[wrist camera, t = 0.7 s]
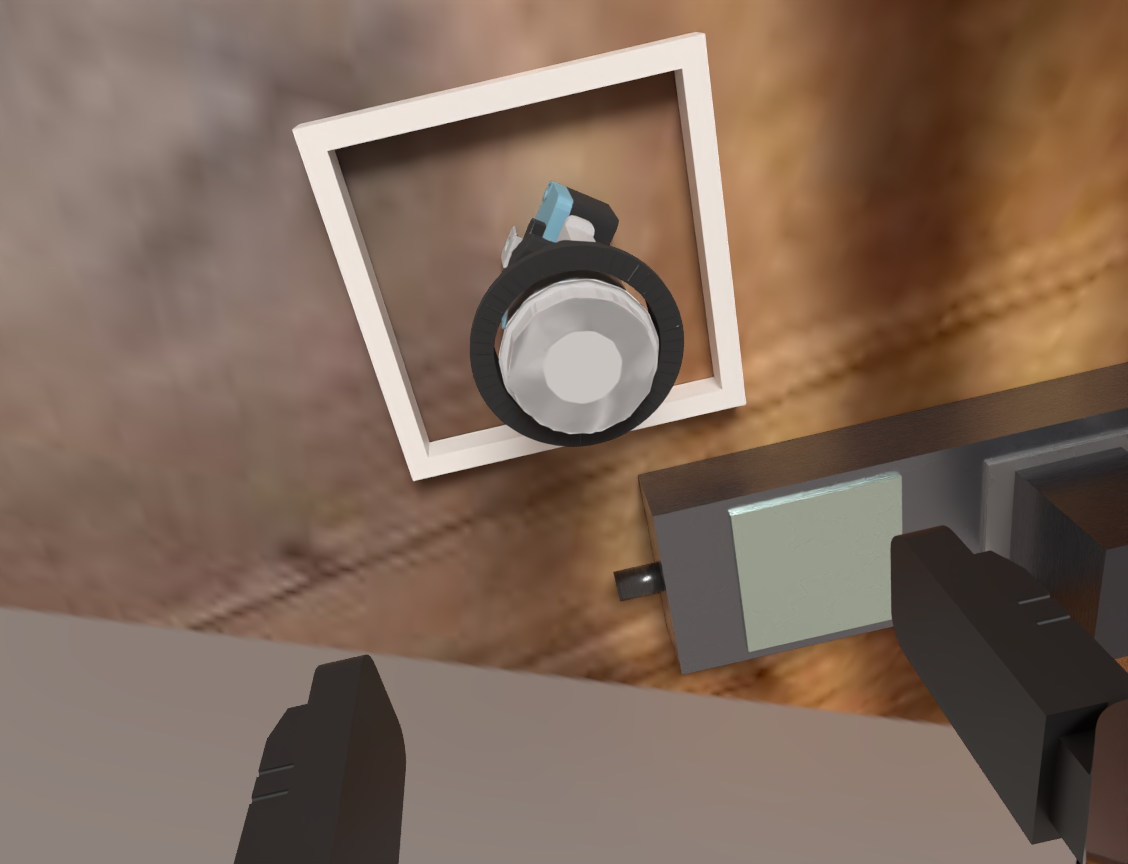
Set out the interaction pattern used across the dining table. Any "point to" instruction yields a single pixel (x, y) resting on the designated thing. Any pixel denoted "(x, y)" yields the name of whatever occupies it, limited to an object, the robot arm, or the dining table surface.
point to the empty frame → (498, 95)
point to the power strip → (892, 518)
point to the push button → (574, 329)
